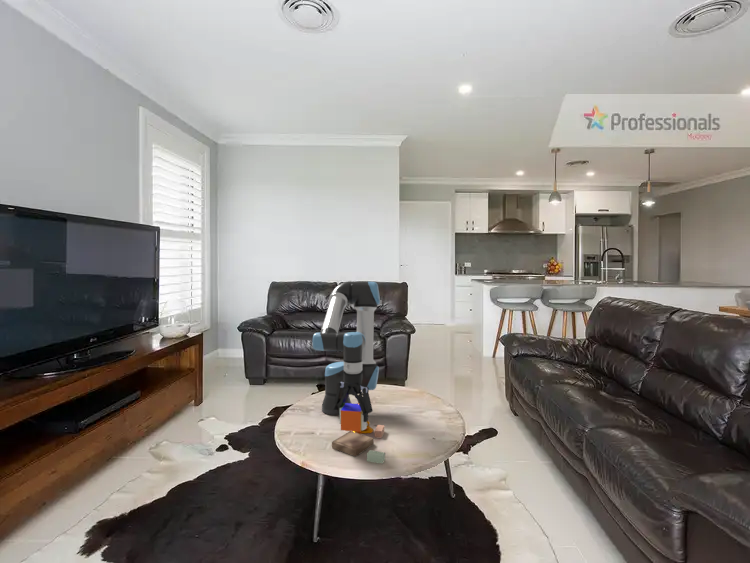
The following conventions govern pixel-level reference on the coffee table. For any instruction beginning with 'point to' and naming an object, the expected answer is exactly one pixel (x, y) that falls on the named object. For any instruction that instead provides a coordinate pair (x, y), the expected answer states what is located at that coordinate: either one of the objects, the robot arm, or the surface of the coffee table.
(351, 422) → the cube
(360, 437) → the walnut slab
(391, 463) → the coffee table surface
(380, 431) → the terracotta brick
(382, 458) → the sage brick
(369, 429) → the figurine
